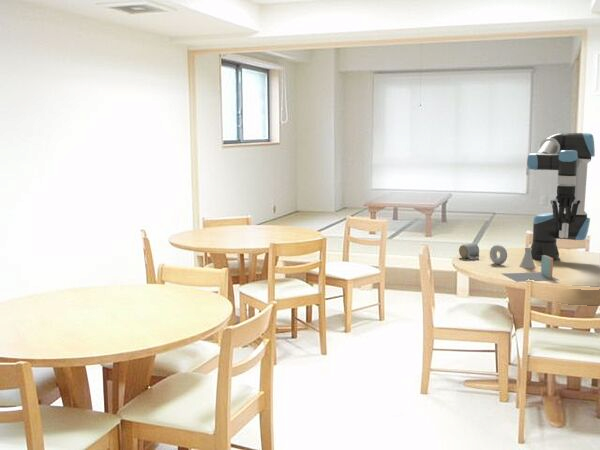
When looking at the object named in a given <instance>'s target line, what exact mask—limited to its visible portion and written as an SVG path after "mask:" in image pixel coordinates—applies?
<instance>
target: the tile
mask: <svg viewBox="0 0 600 450" xmlns="http://www.w3.org/2000/svg"><path fill="white" fill-rule="evenodd" d="M540 267H541V268H540V272H541V275H543V276H545V277H547V278H552V277H553V270H554V260H553V258H551V257H549V256H546V255H542V260H541V266H540Z"/></svg>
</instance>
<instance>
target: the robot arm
mask: <svg viewBox="0 0 600 450" xmlns="http://www.w3.org/2000/svg"><path fill="white" fill-rule="evenodd" d="M595 149H596V148H595V138H594V135H593V134H592V133H587V132H571V133H570V132H568V133H567V132H565V133H564V132H560V133H556V134H553V135H550V136H549V135H548V137H546V138H544V139H543V140H542V142H541V143H540V146H539V149H538V150H537V152H536V153H535V152H533V153H528V155H527V161H526V166H527V168H528V170H533V171H557V187H556V196H555V199H552V200H550V203H551V206H552V207H551V208H552V212H545V213H539V214H536V215H535V216H534V217H533V223H532V224H533V225H532V226H533V227H532V243H531V245H530V247H529V248H532V250H531V254H532V259H533V260H540V261H542V255H546V256H549V257H551V258H553V261H557V260H559V259H560V253H559V249H558V245H557V239H558V240H568V241H569V240H570V241H572V240H573V241H584V240H586V239H587V236H588V232H589V228H590V222H591V218H590V217H588V213H587V212H586V211H585V204H586V203H585V202H586V191H587V179H588V177H587V176H588V165H589V163H590V162H591V161H592V158H593V157H595V156H596V155H595V153H596V151H595Z"/></svg>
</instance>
